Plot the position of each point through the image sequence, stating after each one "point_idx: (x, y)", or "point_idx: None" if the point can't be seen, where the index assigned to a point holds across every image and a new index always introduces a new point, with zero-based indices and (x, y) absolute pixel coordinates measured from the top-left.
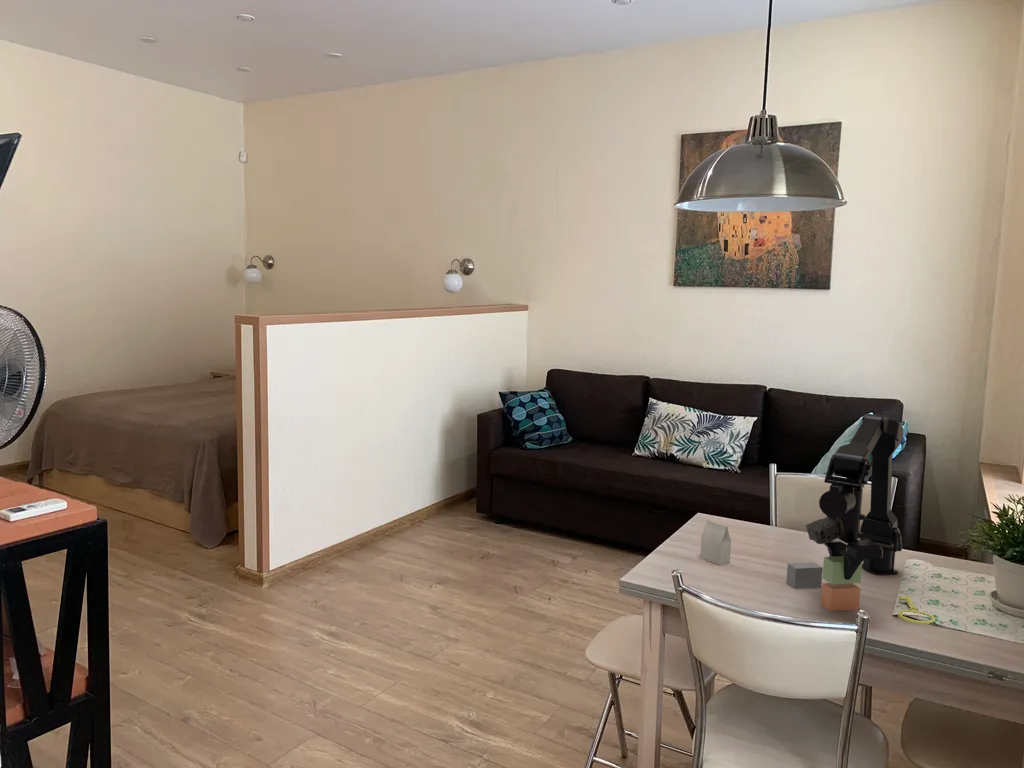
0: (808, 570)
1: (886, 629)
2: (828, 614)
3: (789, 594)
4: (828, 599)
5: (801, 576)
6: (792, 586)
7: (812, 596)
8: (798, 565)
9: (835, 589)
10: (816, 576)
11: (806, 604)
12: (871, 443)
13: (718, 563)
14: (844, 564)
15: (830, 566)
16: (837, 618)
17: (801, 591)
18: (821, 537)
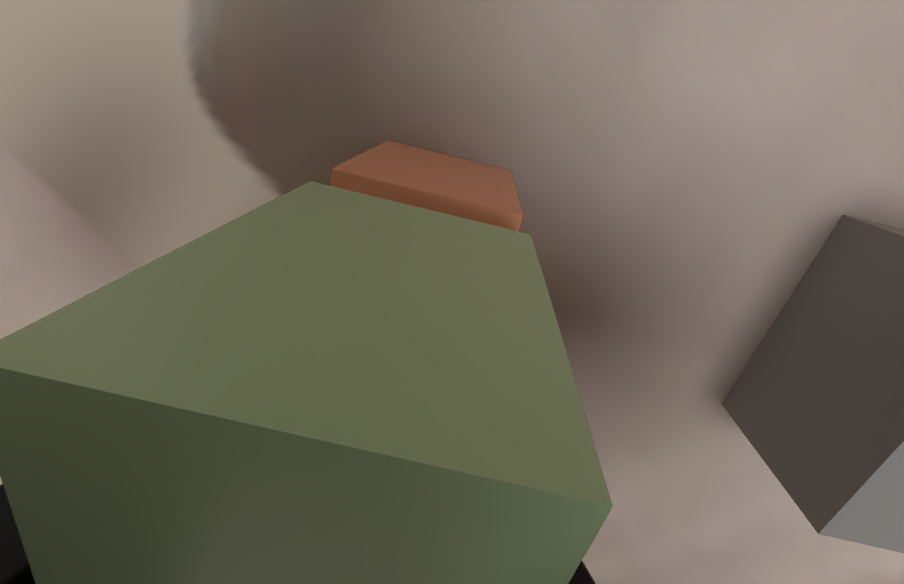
0: (895, 406)
1: (58, 256)
2: (330, 64)
3: (796, 65)
4: (402, 157)
5: (892, 311)
6: (877, 223)
7: (648, 227)
8: None
9: None
10: (794, 427)
11: (558, 40)
12: None
13: None
14: (17, 545)
15: (259, 298)
16: (249, 74)
17: (766, 223)
18: None
